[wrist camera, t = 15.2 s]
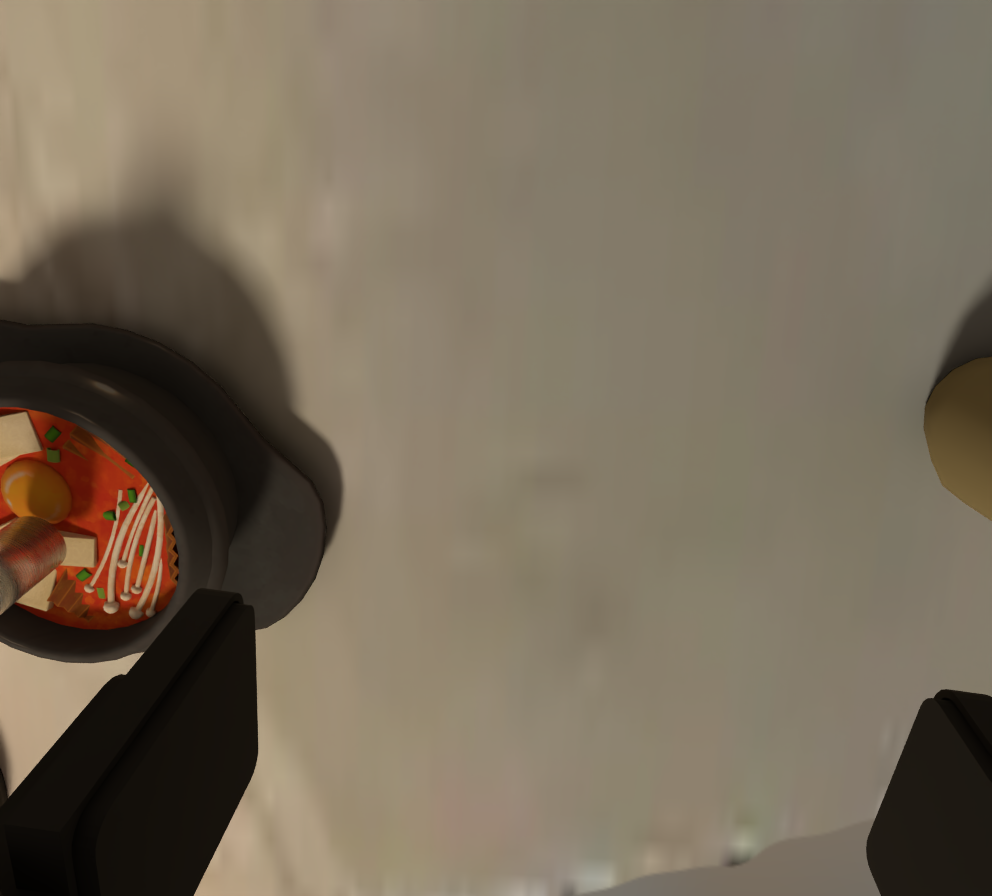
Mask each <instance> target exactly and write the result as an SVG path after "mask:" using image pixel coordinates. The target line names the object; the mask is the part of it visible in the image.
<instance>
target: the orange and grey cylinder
mask: <svg viewBox="0 0 992 896" xmlns="http://www.w3.org/2000/svg"><path fill="white" fill-rule="evenodd" d="M66 552H67V549H66V543H65V540H64V538H63V536H62V535H61V533H60V532H59V531H58V530H57V529H56V528H55V527H54V526H53V525H52V524H51V523H49V522H48V521H46V520H44V519H41V518H38V517H34V516H23V517H19V518H17V519H15V520H14V521H12V522H11V523H9V524H8V525H6V526H5V527H3V528H2V529H1V530H0V615H1V614H2V613H3V612H4V611H6V610H7V609H8V608H9V607H10V606H12V605H13V604H14V603H15V602H16V601H18V600H19V599H20V598H21V597H22V596H24V595H25V594H26V593H27V592H28V591H29V590H31V589H32V588H33V587H34V586H35V585H37V584H38V583H39V582H40V581H41V580H43V579H44V578H45V577H46V576H47V575H49V574H50V573H51V572H52V571H53V570H55V569H56V568H57V567H58V566H59V565H61V563H62V562H63V561H64V559H65V557H66Z"/></svg>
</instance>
